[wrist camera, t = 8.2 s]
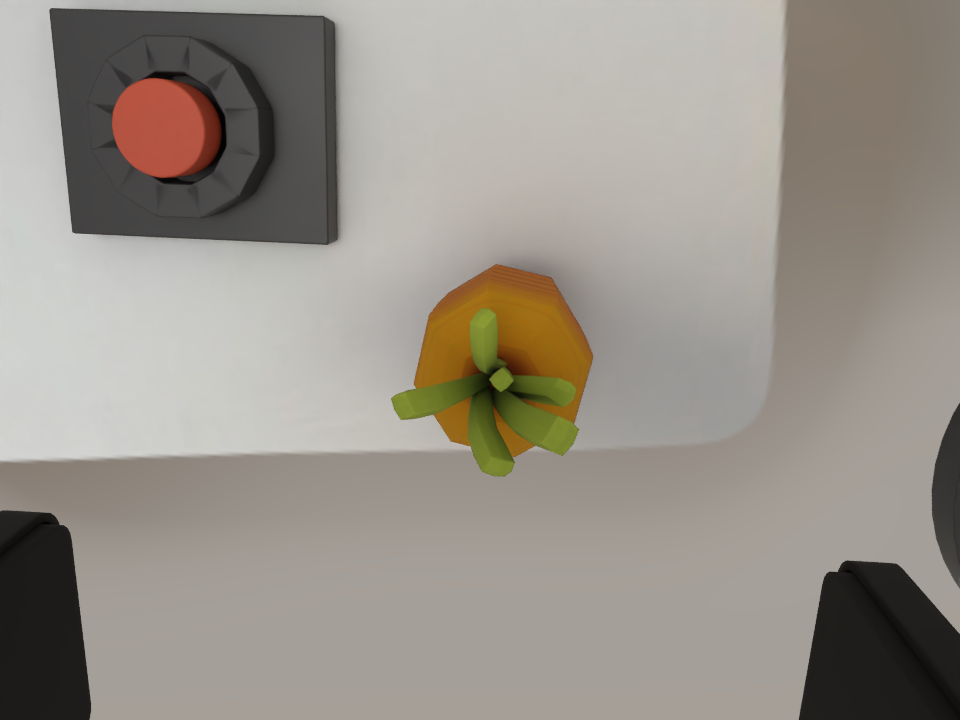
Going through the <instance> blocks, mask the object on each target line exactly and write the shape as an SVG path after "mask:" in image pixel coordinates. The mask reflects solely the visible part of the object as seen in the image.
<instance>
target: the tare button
mask: <svg viewBox="0 0 960 720" xmlns="http://www.w3.org/2000/svg"><path fill="white" fill-rule="evenodd" d="M112 128H113V134H114V138H115V141H116V144H117V146H118V148H119V150H120V152H121V153H122V154H123V156H124V157H125V158H126V159H127V161H128V162H129V163H130V164H131V165H133V166H134V167H135V168H136V169H138V170H139V171H141V172H143V173H145V174H148V175H150V176H154V177H160V178H169V177H179V176H188V175H192V174H196V173H198V172H200V171H202V170H203V169H205V168H206V167H207V166H208V165H209V164H210V163H211V162H212V161H213V160H214V158H215V157H216V155H217V153H218V150H219V148H220V144H221V137H222V130H221V123H220V119H219V116H218V113H217V111H216V109H215V107H214V105H213V104H212V102H211V101H210V100H209V99H208V97H207V96H206V95H205V94H203V93H202V92H201V91H200V90H198V89H197V88H195V87H193V86H192V85H189V84H187V83H183V82H179V81H173V80H167V79H160V78H148V79H143V80H140V81H137V82H135V83H133V84H132V85H130V86H129V87H128V88H127V89H126V90H125V91H124V92H123V93H122V94H121V95H120V97H119V98H118V100H117V102H116V105H115V107H114V111H113V117H112Z"/></svg>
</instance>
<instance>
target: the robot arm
mask: <svg viewBox="0 0 960 720" xmlns="http://www.w3.org/2000/svg"><path fill="white" fill-rule="evenodd" d="M90 713H91V700H90V691H89V683H88V674H87V667H86V658H85V649H84V641H83V632H82V624H81V615H80V607H79V599H78V590H77V582H76V574H75V565H74V556H73V548H72V540H71V535H70V532H69V530H68V528H67V527H65V526H64V525H59V522H58V520H57V519H56V517H55V516H54V515H52V514H51V513H41V512H24V511H0V720H89V719H90ZM799 720H960V634H959V633H958V632H957V631H956V629H955V628H954V627H953V626H952V625H951V624H950V623H949V622H948V620H947V619H946V618H945V617H944V616H943V615H942V614H941V612H940V611H939V610H938V609H937V608H936V607H935V605H934V604H933V603H932V602H931V601H930V600H929V599H928V598H927V596H926V595H925V594H924V593H923V592H922V591H921V589H920V588H919V587H918V586H917V585H916V584H915V582H914V581H913V580H912V579H911V578H910V577H909V576H908V574H906V572H905V571H904V570H903V569H902V568H901V567H900V566H899V565H897V564H893V563H879V562H862V561H845V562H843V563H842V564H841V566H840V568H839V570H838V572H828V573H827V574H826V576H825V577H824V580H823V584H822V590H821V595H820V601H819V608H818V613H817V619H816V624H815V630H814V636H813V641H812V648H811V653H810V658H809V665H808V670H807V676H806V681H805V687H804V694H803V699H802V704H801V710H800V716H799Z"/></svg>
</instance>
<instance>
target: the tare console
mask: <svg viewBox="0 0 960 720" xmlns="http://www.w3.org/2000/svg"><path fill="white" fill-rule="evenodd" d="M49 11H50V21H51V30H52V40H53V50H54V59H55V69H56V78H57V88H58V98H59V107H60V117H61V127H62V136H63V146H64V156H65V165H66V175H67V184H68V194H69V204H70V213H71V223H72V232H73V233H78V234H100V235H123V236H145V237H167V238H189V239H211V240H234V241H256V242H278V243H300V244H322V245H328V244H330V243H332V242H334V241H336V240H337V202H336V128H335V54H334V22H333V21H331V20H329V19H328V18H326V17H324V16H304V15H269V14H234V13H199V12H164V11H129V10H94V9H59V8H51V9H50V10H49ZM148 78H160V79H167V80H173V81H179V82H183V83H187V84H189V85H192V86H193V87H195V88H197V89H198V90H200V91H201V92H202V93H203V94H205V95H206V96H207V97H208V99H209V100H210V101H211V102H212V104H213V105H214V107H215V109H216V111H217V113H218V116H219V119H220V123H221V130H222V137H221V144H220V148H219V150H218V153H217V155H216V157H215V158H214V160H213V161H212V162H211V163H210V164H209V165H208V166H207V167H206V168H205V169H203V170H202V171H200V172H198V173H196V174H192V175H188V176H179V177H169V178H160V177H154V176H150V175H148V174H145V173H143V172H141V171H139V170H138V169H136V168H135V167H134V166H133V165H131V164H130V163H129V162H128V161H127V159H126V158H125V157H124V156H123V154H122V153H121V152H120V150H119V148H118V146H117V144H116V141H115V138H114V134H113V128H112V117H113V111H114V107H115V105H116V102H117V100H118V98H119V97H120V95H121V94H122V93H123V92H124V91H125V90H126V89H127V88H128V87H129V86H130V85H132V84H133V83H135V82H137V81H140V80H143V79H148Z"/></svg>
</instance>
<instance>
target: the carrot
mask: <svg viewBox="0 0 960 720" xmlns="http://www.w3.org/2000/svg"><path fill="white" fill-rule="evenodd" d="M592 360H593V354H592V352H591V349H590V346H589V344H588V341H587V339H586V337H585V335H584V333H583V331H582V329H581V327H580V325H579V323H578V322H577V320H576V318H575V317H574V315H573V313H572V312H571V310H570V308H569V307H568V305H567V303H566V302H565V300H564V298H563V297H562V295H561V293H560V291H559V290H558V288H557V286H556V285H555V283H554V281H553V280H552V278H550V277H547V276H543V275H539V274H534V273H530V272H526V271H522V270H518V269H514V268H510V267H506V266H502V265H498V264H496V265H494V266H492V267H491V268H489V269H487V270H486V271H484V272H482V273H481V274H479V275H478V276H476V277H474V278H473V279H471V280H469V281H468V282H466V283H464V284H463V285H461V286H459V287H458V288H456V289H454V290H453V291H451V292H449V293H448V294H447V295H446V296H445V297H444V298H443V299H442V300H441V301H440V302H439V303H438V304H437V305H436V307H435V308H434V309H433V311H432V312H431V313H430V315H429V317H428V322H427V326H426V331H425V335H424V340H423V344H422V349H421V353H420V358H419V362H418V367H417V371H416V375H415V380H414V385H415V387H416V389H413V390H408V391H405V392H402V393H399V394H396V395H395V396H394V397H392V398H391V400H392V403H393V407H394V410H395V411H396V413H397V414H398V416H399V417H400V419H401V420H406V419H415V418H422V417H425V416H429V415H434V416H435V418H436V419H437V421H438V422H439V424H440V425H441V427H442V428H443V430H444V431H445V433H446V435H447V436H448V438H449V439H450V441H451V442H455V443H459V444H463V445H467V446H471V449H472V452H473V455H474V457H475V459H476V461H477V463H478V465H479V467H480V469H481V471H482V472H485V473H487V474H490V475H492V476H506V475H507V474H509V473H510V472H511V471H512V469H513V466H514V463H515V462H514V460H513V458H512V457H515V456H517V455H519V454H521V453H523V452H525V451H527V450H528V449H530V448H532V447H534V446H538V447H541V448H543V449H546V450H549V451H551V452H554V453H556V454H559V455H562V456H563V455H564V454H565V452H567V450H568V449H569V448H570V447H571V446H572V445H573V444H574V441H575V438H576V436H577V433H578V431H579V429H578V428H577V427H576V426H575V425H574V422H575V419H576V415H577V412H578V408H579V405H580V402H581V398H582V395H583V391H584V388H585V384H586V381H587V377H588V374H589V370H590V367H591V363H592Z"/></svg>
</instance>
